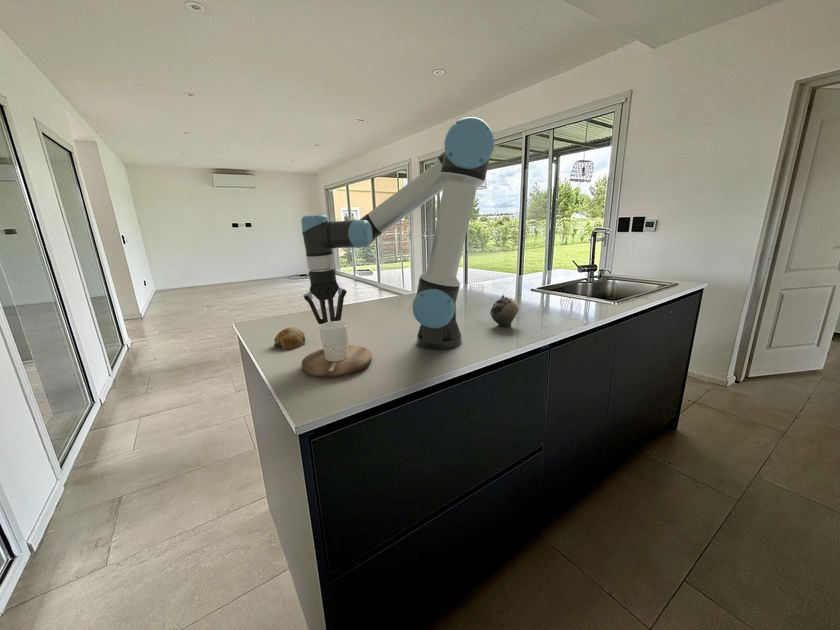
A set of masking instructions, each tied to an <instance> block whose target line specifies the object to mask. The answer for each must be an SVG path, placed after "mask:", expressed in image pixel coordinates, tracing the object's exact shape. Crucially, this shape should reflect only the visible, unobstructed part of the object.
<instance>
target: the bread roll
mask: <svg viewBox="0 0 840 630" xmlns="http://www.w3.org/2000/svg"><path fill="white" fill-rule="evenodd" d="M273 340H274V343H273V346H274V347H276V348H277V349H280V350H291V349H296V348H299V347H302V346H305V345H306V335H305V334H304V332H303V331H302V330H301V329H299V328H296V327H287V328H284V329H282V330H280V332H278V334H276V336H275V338H274V339H273Z"/></svg>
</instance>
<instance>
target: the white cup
mask: <svg viewBox="0 0 840 630" xmlns="http://www.w3.org/2000/svg"><path fill="white" fill-rule="evenodd" d="M348 325H349V324H348V322H347V321H344V320H343V321H342V320H340V321H332V322H331V321H328V322H326V323H323V324H319V326H318V327H319V333H320V338H321V344H322V349H323V350H324V353H325V359H326V360H327V361H332V362H333V361H341V360H344V359H346V358H347V357H348V356H349V352H348V347H349V328H348Z"/></svg>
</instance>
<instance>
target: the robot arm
mask: <svg viewBox="0 0 840 630" xmlns="http://www.w3.org/2000/svg"><path fill="white" fill-rule="evenodd" d="M494 139H495V138H494V135H493V131H492V129H491V128H490V126H489V125H488V124H487V123H486V122H485V121H484V120H483V119H480V118H479V117H474V116H468V117H463V118H459V120H457V121H456V122H454V123H453V124H452V125H451V126H450V127H449V129H448V131H447V133H446V135H445V137H444V144H443V145H444V152H442V153H441V154H440V155H438V156H437V157H436V159H435V162H434V163H433V164H432V165H431V166H430V167H429V168H427V169H426V170H424V171H423V172H422V173H420V174H419V175H418V176H416V177H415V178H414V179H412V180H411V181H410V182H408V183H406V185H404V186H403V187H401V188H400V189H399V190H398V191H396V192H395V193H393V194H392V195H391V196H390V197H388V198H386V200H384V201H383V202H381V203H380V204H378V205H377V206H376V207H375V208H373V209H372V210H370V211H369V212H368V213H367V214H365V215H364V216H362V217H361V218H360V219H352V220H341V221H336V220H335V221H330V220H329V217H328V215H326V214H315V215H314V214H313V215H311V214H310V215H304V216H302V217H301V221H300V222H301V230H302V231H301V234H302V238H303V243H304V249H305V256H306V263H307V268H308V270H309V272H308V275H309V283H310V285H309V291H308V292H307V293H305V294H303V295H302V296H303V299H304V300H305V301H306V303H308V304H309V307H310V309H311V311H312V314H313V315H314V318H315V320H316V322H317V323H318V325H321V324H323V323H326V322H332V321H342V316H343V308H344V307H343V306H344V302H345V301H344V299H345V297H346V294H347V290H346V289H345V288H342V287H340V285H339V284H338V282H337V277H336V269H335V268H334V267H335V261H334V255H333V249H349V248H354V249H355V248H356V249H360V248H368V247H370V246H371V245H372V243H373V242H374V241H376V239H377V238H378V237H380V236H381V235H382V234H384V233H385V232H386V231H388V230H389V229H391V228H392V227H393V226H395V225H397V223H399V222H400V221H402V220H403V219H405V218H406V217H407V216H409V215H410V214H411V213H413V212H414V211H416V210H417V209H419V208H420V207H422V206H423V205H424V204H426V203H427V202H429V201H431V200H432V199H433V198H434V197H436V196H437V195H439V194H440V193H441V192H442V194H441V199H440V202H439V203H440V204H439V209H438V211H437V212H438V214H437V218H436V222H435V229H434V232H433V238H432V242H431V247H430V253H429V257H428V261H427V267H426V270H425V271H424V272H423V273H421V274H420V275H419V279H418V285H417V289H416V293H415V296H414V299H413V301H412V313H413V316H414V319H415V320H416V321H417V322H418V323H419V324H420V325H419V328H418V332H417V335H416V343H417V345H418V346H419V347H421V348H423V349H428V350H437V351H438V350H447V349H452V348H456V347H458V346H460V345H461V344H462V341H463V339H462V333H461V330H460V327H459V324H458V321H457V299H458V296H459V295H458V294H459V291H460V286H461V282H460V281H459V279H458V278H457V275H458V271H459V267H460V262H461V259H462V258H461V257H462V253H463V251H464V250H463V249H464V245H465V240H466V237H467V231H468V227H469V223H470V219H471V214H472V210H473V207H474V201H475V199H476V194H477V190H478V188H479V187H480V186H482V185H483V184H484V183H485V180H486V176H487V172H488V168H489V165H490V164H489V163H490V159H491V155H492V153H493V151H494V147H495V140H494ZM336 294H337V295H338V296H337V302H336V303H337V305H336V311H335V307H334V305H335V304H334V298H335V296H336ZM313 296H314V297H315V298H316V299H317V300H318V301H319V305H320V313H321V316H320V313H319V311H318V310H317V308H316V306H315V303H314V301H313ZM326 300H327V304H328V311H329V312H328V311H327V307H326ZM327 312H328V313H329V318H328V314H327ZM329 320H330V321H329Z"/></svg>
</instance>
